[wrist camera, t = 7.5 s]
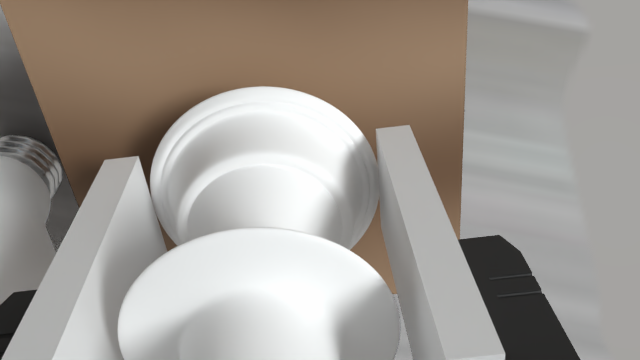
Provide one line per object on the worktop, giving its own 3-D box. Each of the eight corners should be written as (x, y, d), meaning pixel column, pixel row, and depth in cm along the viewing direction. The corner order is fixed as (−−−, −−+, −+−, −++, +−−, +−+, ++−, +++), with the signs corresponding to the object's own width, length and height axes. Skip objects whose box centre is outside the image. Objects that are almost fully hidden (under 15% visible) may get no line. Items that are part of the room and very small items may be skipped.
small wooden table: (95, -77, 19) (-9, -19, 12) (402, -113, 19) (470, -74, 12) (168, 182, 24) (124, 324, 17) (407, 154, 24) (457, 286, 17)
